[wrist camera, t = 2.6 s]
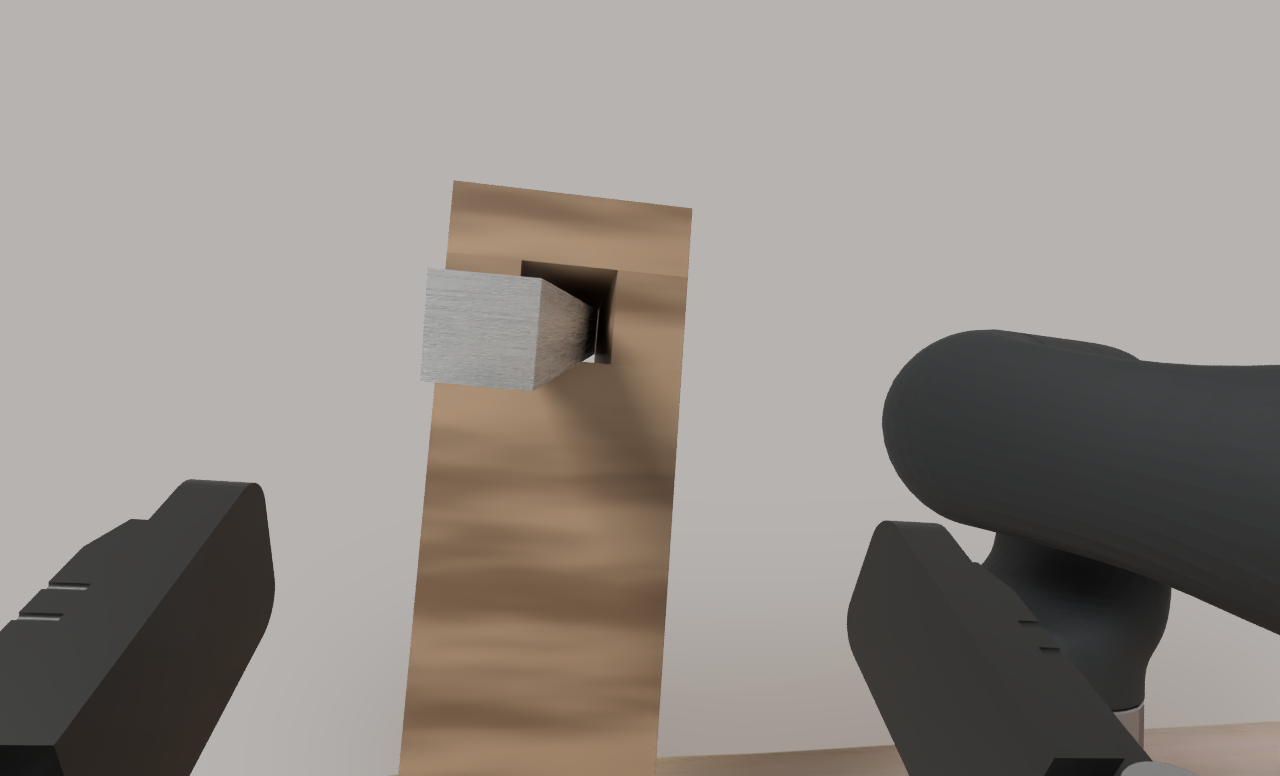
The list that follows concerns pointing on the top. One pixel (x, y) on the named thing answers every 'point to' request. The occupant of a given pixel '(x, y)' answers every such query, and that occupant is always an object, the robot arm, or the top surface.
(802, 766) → the top surface
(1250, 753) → the top surface
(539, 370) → the pin
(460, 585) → the post
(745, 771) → the top surface
